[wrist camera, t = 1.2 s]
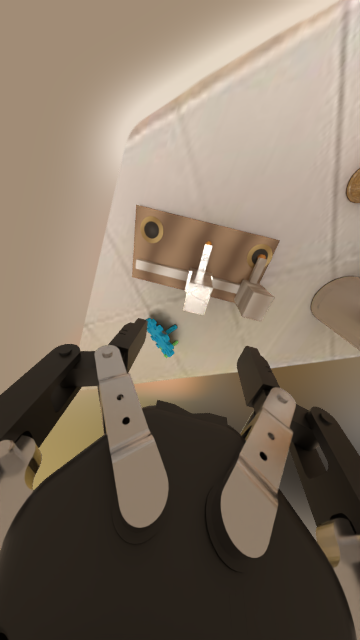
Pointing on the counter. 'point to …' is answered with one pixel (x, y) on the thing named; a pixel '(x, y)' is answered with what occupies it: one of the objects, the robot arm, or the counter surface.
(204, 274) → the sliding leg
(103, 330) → the counter surface
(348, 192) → the sprinkles bottle
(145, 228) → the plate
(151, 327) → the blue branching piece
